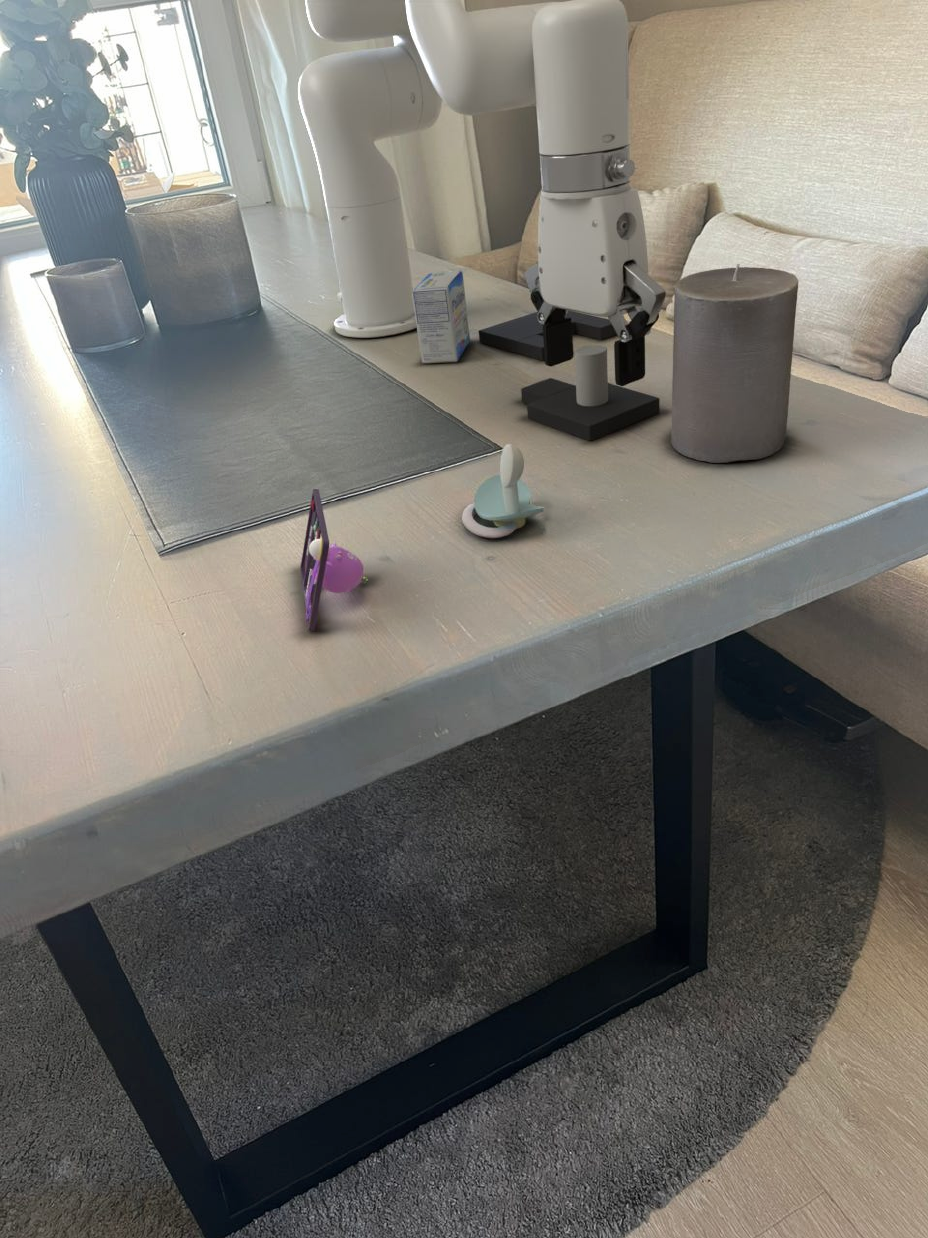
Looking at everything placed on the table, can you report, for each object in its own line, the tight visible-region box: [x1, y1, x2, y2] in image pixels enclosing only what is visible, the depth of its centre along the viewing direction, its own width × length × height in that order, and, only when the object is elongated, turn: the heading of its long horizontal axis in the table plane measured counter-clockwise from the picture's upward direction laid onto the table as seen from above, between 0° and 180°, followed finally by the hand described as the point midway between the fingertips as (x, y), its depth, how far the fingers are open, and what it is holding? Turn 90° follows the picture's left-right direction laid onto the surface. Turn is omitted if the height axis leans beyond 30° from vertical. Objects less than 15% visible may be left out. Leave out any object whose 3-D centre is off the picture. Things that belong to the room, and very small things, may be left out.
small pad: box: [520, 344, 661, 442], centre depth 91 cm, size 13×9×6 cm
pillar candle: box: [670, 263, 799, 464], centre depth 78 cm, size 10×10×15 cm
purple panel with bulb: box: [299, 488, 369, 632], centre depth 66 cm, size 7×5×9 cm
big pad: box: [478, 310, 618, 361], centre depth 113 cm, size 12×12×2 cm
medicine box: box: [412, 270, 471, 364], centre depth 111 cm, size 8×4×9 cm, turn 168°
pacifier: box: [461, 443, 544, 539], centre depth 72 cm, size 7×6×6 cm
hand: (593, 371), depth 88 cm, fingers open, 9 cm apart
